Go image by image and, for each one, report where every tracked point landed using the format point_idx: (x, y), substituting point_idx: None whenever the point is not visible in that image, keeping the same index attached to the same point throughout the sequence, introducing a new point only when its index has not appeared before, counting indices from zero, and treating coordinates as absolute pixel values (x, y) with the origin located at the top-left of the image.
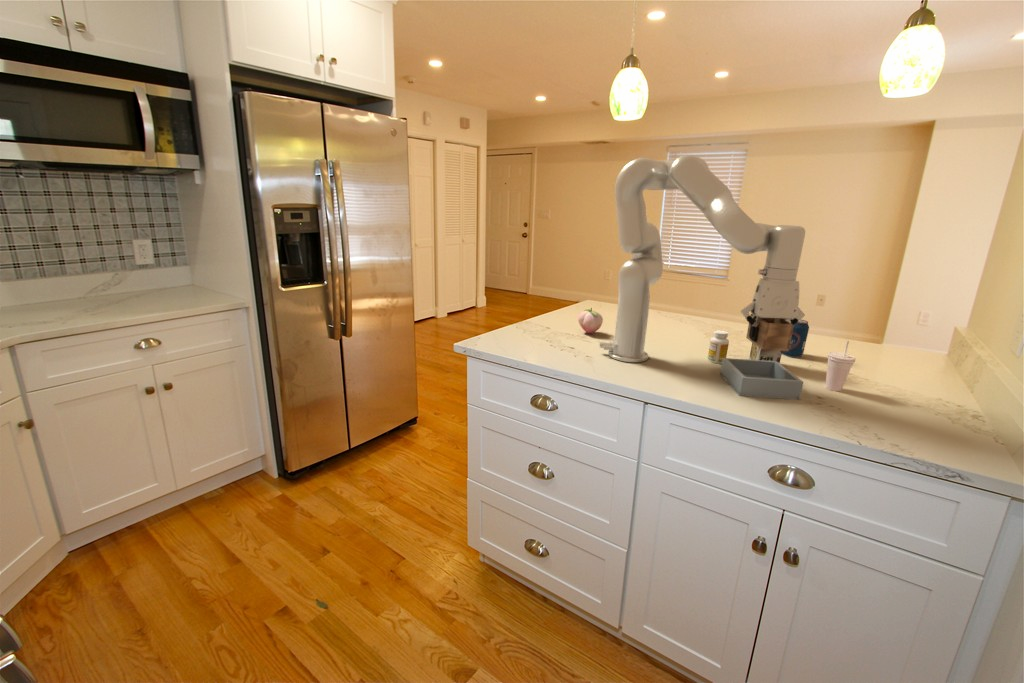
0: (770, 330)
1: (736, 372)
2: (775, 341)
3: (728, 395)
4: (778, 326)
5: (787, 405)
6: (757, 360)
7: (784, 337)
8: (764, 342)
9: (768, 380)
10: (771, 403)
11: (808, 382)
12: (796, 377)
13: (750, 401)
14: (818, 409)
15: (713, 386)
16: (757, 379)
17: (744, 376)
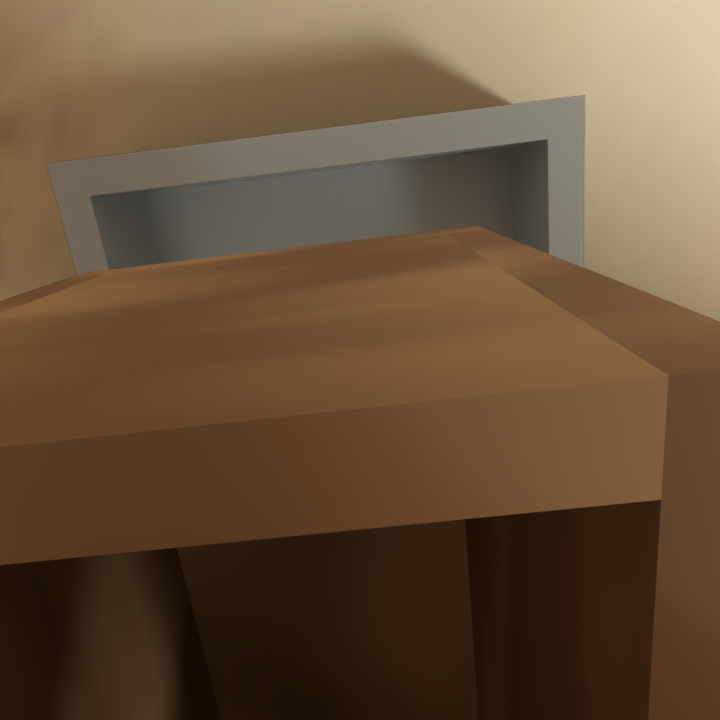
0: (467, 298)
1: (580, 263)
2: (281, 270)
3: (613, 92)
4: (181, 381)
5: (227, 17)
6: None
7: (77, 305)
8: (488, 242)
9: (348, 125)
10: (335, 21)
11: None
12: (87, 268)
13: (482, 12)
14: (23, 6)
15: (665, 251)
16: (446, 114)
17: (553, 144)
